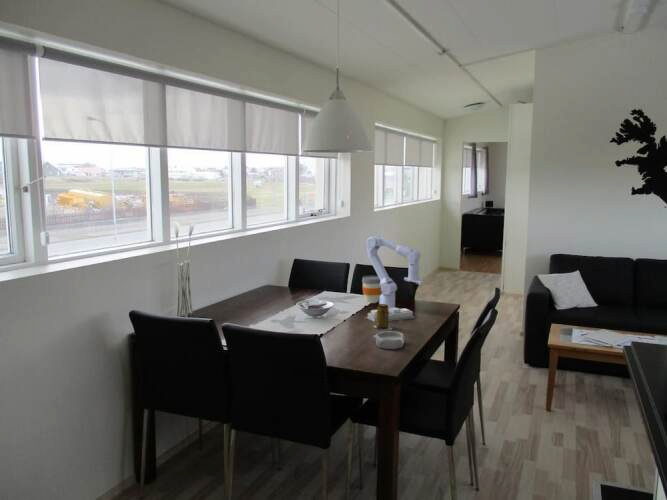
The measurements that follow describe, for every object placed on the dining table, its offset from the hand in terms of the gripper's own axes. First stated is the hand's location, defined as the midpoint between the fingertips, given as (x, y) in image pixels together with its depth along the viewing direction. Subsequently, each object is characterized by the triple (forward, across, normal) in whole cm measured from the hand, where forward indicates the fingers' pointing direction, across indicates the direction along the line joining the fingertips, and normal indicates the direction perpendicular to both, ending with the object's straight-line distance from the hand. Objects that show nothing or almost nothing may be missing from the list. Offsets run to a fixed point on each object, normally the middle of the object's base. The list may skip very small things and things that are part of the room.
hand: (413, 295), depth 310 cm
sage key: (+8, +2, -26) cm, 28 cm away
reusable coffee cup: (+10, -34, -5) cm, 36 cm away
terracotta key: (+10, +2, -20) cm, 23 cm away
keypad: (+10, +2, -18) cm, 20 cm away
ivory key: (+10, +3, -9) cm, 13 cm away
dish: (+11, +41, -46) cm, 62 cm away
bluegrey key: (+9, +3, -14) cm, 17 cm away
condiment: (+11, +16, -32) cm, 38 cm away
